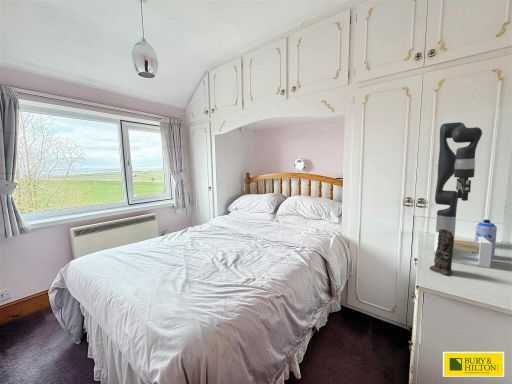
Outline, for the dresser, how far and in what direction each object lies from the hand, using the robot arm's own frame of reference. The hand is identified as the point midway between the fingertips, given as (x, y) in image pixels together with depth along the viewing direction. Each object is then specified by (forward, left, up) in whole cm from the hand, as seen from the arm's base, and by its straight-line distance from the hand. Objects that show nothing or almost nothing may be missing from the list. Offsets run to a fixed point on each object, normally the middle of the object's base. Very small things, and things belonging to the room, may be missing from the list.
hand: (462, 199), depth 113 cm
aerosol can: (-8, +12, -32) cm, 35 cm away
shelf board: (+3, 0, -25) cm, 25 cm away
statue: (+24, -10, -32) cm, 41 cm away
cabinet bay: (+3, 0, -31) cm, 32 cm away
